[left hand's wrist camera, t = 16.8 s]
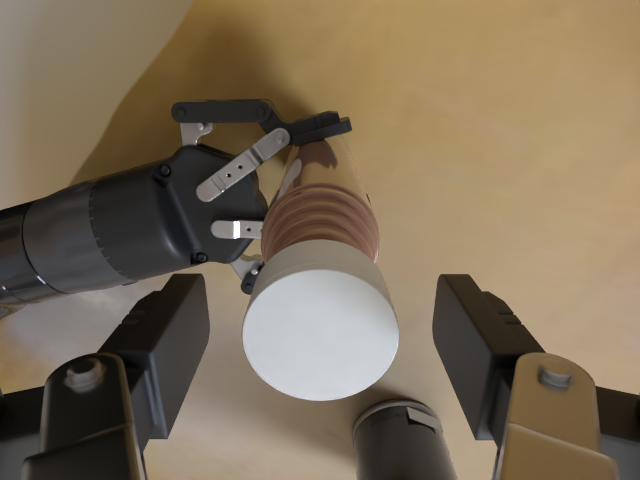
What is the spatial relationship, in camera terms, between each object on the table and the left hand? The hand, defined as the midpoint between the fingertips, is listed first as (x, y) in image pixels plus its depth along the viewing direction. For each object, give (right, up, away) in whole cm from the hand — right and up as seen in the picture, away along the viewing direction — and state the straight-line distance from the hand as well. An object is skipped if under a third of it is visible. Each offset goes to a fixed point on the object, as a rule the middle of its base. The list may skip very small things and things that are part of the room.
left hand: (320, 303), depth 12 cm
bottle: (0, +8, +21) cm, 23 cm away
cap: (0, -1, -1) cm, 1 cm away
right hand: (+3, +7, +15) cm, 17 cm away
